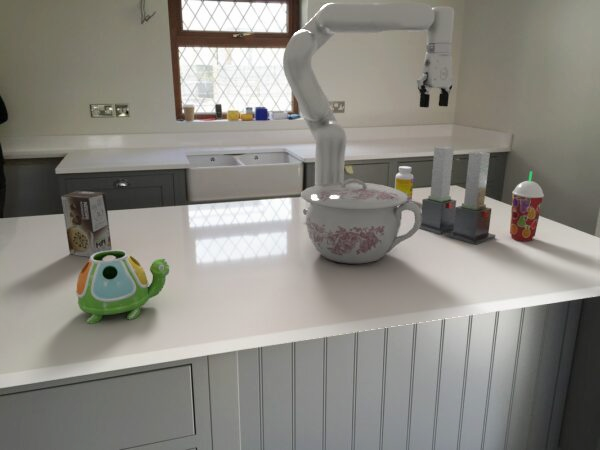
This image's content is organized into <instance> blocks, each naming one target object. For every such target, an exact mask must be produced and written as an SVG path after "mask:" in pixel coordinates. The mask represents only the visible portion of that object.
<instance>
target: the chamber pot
mask: <svg viewBox="0 0 600 450" xmlns="http://www.w3.org/2000/svg"><path fill="white" fill-rule="evenodd" d="M300 197H301V198H302V199H303V200H305V201H306V202H307V203H310V204H309V206H308V207H307V208H306V209H307V210H306V215H305V216H306V217H305V218H306V221H305V222H306V229H307V232H308V233H307V234H308V238H309V239H310V241H311V242H312V245H313V246H314V248H315V249H316V251H317V252H318V253H319V254H320V255H321V256H322V257H324V258H326V259H327V260H330V261H333V262H337V263H341V264H348V265H360V264H361V265H362V264H368V263H372V262H375V261H379V260H380V259H382V258H384V257H385V256H386V255H387V254H388V253H390V252H391V251H392V250H393V249H394V248H396V246H398V245H399V244H400V243H402V242H404V241H406V240H408V239H409V238H412V237H413V236H414V235H415V234H416V232H417V231H418V230H420V226H421V223H422V210H421V209H420V207H419V206H418V204H416V203H415V202H414V201H412V200H411V201H410V202H407V200H408V196H407V195H406V194H405V193H404V192H402V191H400V190H397V189H395V187H391V186H386V185H384V184H377V183H371V182H364V181H362V180H361V179H358V178H348V179H346V180H344V182H339V183H328V184H321V185H317V186H315V185H314V186H310V187H306V188H305V189H304V190H302V191H301V193H300ZM403 211H410V212H412V213H413V214H414V224H413V226H412V228H411V229H410V230H409V231H407V232H406V233H404V234H401V235H399V232H400V229H401V224H402V212H403Z"/></svg>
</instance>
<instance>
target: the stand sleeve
mask: <svg viewBox="0 0 600 450" xmlns="http://www.w3.org/2000/svg"><path fill="white" fill-rule="evenodd" d="M421 204H422V205H421V213H422V223H421V226H420V228H419V230H424V231H427V232H431V233H434V234H438V235H444V234H446V233H448V232H451V231H453V229H454V219H455V209H456V207H457V200H456V199H452V198H451V200H449V201H448V202H443V203H439V202H435V201H431V200H430V199H428V197H427V198H423V199H422V203H421Z"/></svg>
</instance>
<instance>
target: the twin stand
mask: <svg viewBox="0 0 600 450" xmlns="http://www.w3.org/2000/svg"><path fill="white" fill-rule="evenodd" d="M490 155H491V152H485V151H478V150H477V151H470V152H468V163H467V171H466V182H465V190H464V200H463V203H461V205H459V206H456V208H455V218H454V229H453V231H450V232H447V233H445V237H448V238H451V239H455V240H458V241H461V242H465V243H468V244H471V245H479V244H482V243H485V242H488V241H491V240H493V239H494V240H495V238H496V234H493V233H490V225H491V217H492V216H491V215H492V210H493V209H492V208H490V207H488V206H487V204H485V198H486V190H487V181H488V175H489V173H488V172H489V165H490Z"/></svg>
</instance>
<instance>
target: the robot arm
mask: <svg viewBox="0 0 600 450" xmlns="http://www.w3.org/2000/svg"><path fill="white" fill-rule="evenodd" d="M454 20H455V9H454V8H453V7H452V6H443V5H441V6H440V5H439V6H434V7H432V6H431V5H429V4H428V3H424V2H385V3H384V2H369V3H368V2H367V3H366V2H363V3H362V2H329V3H326V4H324V5H322V6H321V8H320V9H319V10H318V11H317V12H316V13H315V14H314V16H313V17H311V18H310V20H309V21H308V22H307V23H305V25H304V26H302V27H301V28H300V29H299V30H298V31H296V32H294V33H293V35H292V36H291V37H290V39H289V41H288V42H287V45H286V47H285V49H284V51H283V57H282V66H283V71H284V75H285V78H286V80H287V83H288V84H289V85H288V86H289V87H290V90H291V92H292V93H293V96H294V97H295V100H296V101H297V103H298V110H299V112H300V113H301V116H302V118H303V120H304V121H305V123H306V125H307V127H308V129H309V131H310V133H311V135H312V137H313V139H314V141H315V157H314V158H315V159H314V186H317V185H321V184H328V183H339V182H345V159H346V157H345V156H346V147H347V135H346V130H345V129H344V127H343V126H342V125H341V124H340V123H339V122H338V120H337V118H336V117H335V115H334V113H333V110H332V108H331V107H330V101H329V99H328V97H327V95H326V94H325V92H324V91H323V89H322V86H321V84H320V83H319V81H318V78H317V76H316V74H315V73H314V69H313V67H312V58H313V57H314V55H315V54H316V53H317V52H318V50H320V48H322V47H323V46H324V45H325V44H326V43H327V42H328V41H329V40H330V39H331V38H332V37H333V36H334V35H335V34H367V35H368V34H378V33H382V32H388V31H390V32H391V31H405V32H407V33H410V34H418V33H424V32H425V33H426V47H425V56H424V59H423V65H422V70H421V71H422V72H421V76H419V78H417V79H416V84H417V89H418V92H419V93H418V94H419V108H426V109H428V108H430V107H429V106H430V97H431V94H430V91H431V90H432V88H434V89H439V90H440V93H439V96H438V106H439V107H448V106H449V96H450V94H451V90H452V88H453V85H454V83H455V79H454V78H453V58H452V57H453V56H452V54H451V53H452V43H453V42H452V41H453V31H454ZM307 209H308V208H304V209H303V210H302V212H303V214H304V215H305V216H306V210H307Z"/></svg>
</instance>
